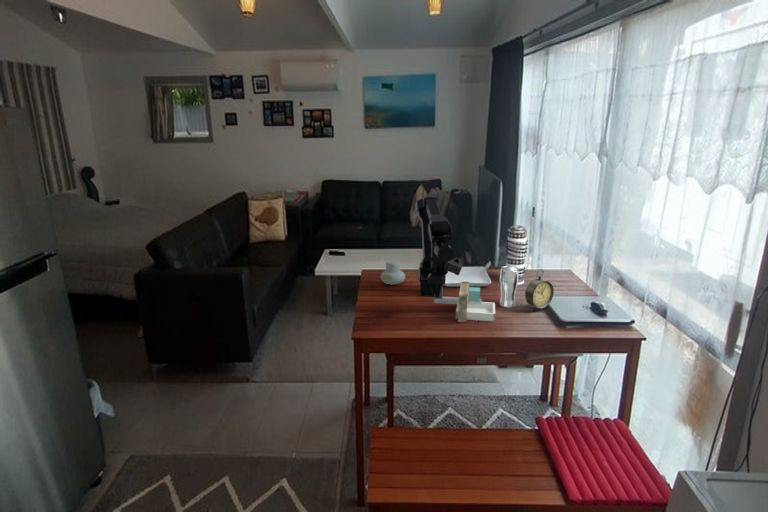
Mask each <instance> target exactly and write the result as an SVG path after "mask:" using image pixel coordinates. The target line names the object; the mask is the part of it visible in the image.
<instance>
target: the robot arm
mask: <svg viewBox="0 0 768 512" xmlns="http://www.w3.org/2000/svg"><path fill="white" fill-rule="evenodd" d="M438 204H439V203H438V199H437V197H436V196H424V197H422V198H421V199H418V200H416V202H415V204H414V209H415V212H416V216H417V218H418V219H419V221H420V222H421V223H420V224H421V240H422V241H421V242H422V258H421V260H420V262H419V267H418V269H417V273H416V274H417V275H416V277H417V280H418V282H419V285H420V287H419V288H420V292H419V296H423V297H424V296H425V297H434V294H435V296H436V297H439V294H440V290H441V286H442V285H443V284H445V282H446V274H447V273H448V271H449V272H451V273H454V274H455V275H459V274H460V271H461V269H462V267H463V264H462V262H461V261H460V258H458V257H455V258H454V256H455V255H454V254H455V252H454V250H453V248H452V247H451V246H450V245H449V242H453V241H454V232H453V227H452V225H451V223H450V221H449V220H448V218H447V217H446V216H443V215H442V213H441V210H440V208H439V205H438ZM453 258H454V259H453ZM443 286H444V285H443Z"/></svg>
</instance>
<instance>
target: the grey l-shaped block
mask: <svg viewBox="0 0 768 512" xmlns="http://www.w3.org/2000/svg"><path fill="white" fill-rule="evenodd" d="M443 294H444V285H442V286H441V290H440V294H439V297H436V296H435V294H434V296H433V303H434V304H445V305H446V304H447V305H457V304H459V296H458V297H456V296H443ZM482 300H483V299H482V298H480V302H475V301H469V298H468V303H467V305H475V306H481V304H482V302H483V301H482Z"/></svg>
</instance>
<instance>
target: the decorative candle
mask: <svg viewBox="0 0 768 512" xmlns="http://www.w3.org/2000/svg"><path fill="white" fill-rule="evenodd" d="M507 232H508V235H507V241H506V242H505V249H506V250H505V256H506V263H505V264H506V265H505V266H513V267H517V268H518V269H519V270H518V272H519V279H518V286H519V285H523V284H525V276H526V275H525V273H526V266H525V264H526V263H525V262H526V261H525V259H526V258H527V255H526V254H527V253H528V251H527V250H528V247H527V246H528V245H529V244H528V242H529V239H528V237H527V233H528V229H526V228H525V226H523V225H518V224H517V225H512V226H510V228H508V229H507Z"/></svg>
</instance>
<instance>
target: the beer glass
mask: <svg viewBox="0 0 768 512" xmlns="http://www.w3.org/2000/svg"><path fill="white" fill-rule="evenodd" d="M518 270H519V269H518V268H517V267H513V266H506V265H504V266H503V265H502V266H501V268H500V272H499V274H500V275H499V286H500V287H499V288H500V300H499V306H501V307H502V308H508V309H511V308H514V307H516V293H517V289H518V286H519V285H518V279H519V272H518Z"/></svg>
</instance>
